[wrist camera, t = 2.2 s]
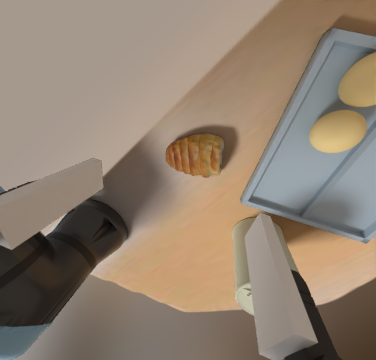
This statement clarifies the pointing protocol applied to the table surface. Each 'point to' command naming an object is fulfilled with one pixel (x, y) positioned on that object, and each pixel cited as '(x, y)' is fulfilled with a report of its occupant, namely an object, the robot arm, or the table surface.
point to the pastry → (196, 155)
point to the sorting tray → (316, 160)
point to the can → (241, 263)
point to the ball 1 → (338, 131)
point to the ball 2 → (359, 83)
